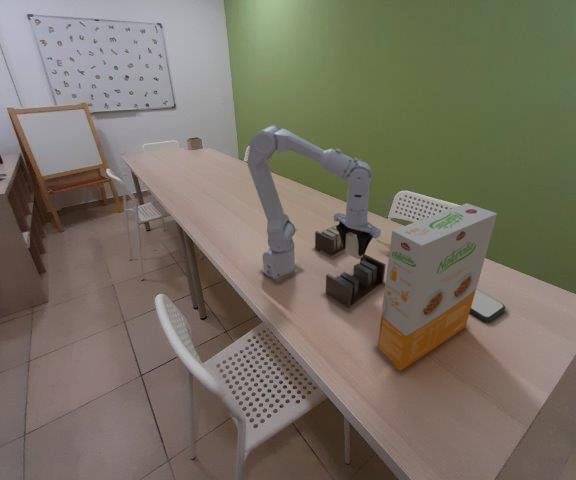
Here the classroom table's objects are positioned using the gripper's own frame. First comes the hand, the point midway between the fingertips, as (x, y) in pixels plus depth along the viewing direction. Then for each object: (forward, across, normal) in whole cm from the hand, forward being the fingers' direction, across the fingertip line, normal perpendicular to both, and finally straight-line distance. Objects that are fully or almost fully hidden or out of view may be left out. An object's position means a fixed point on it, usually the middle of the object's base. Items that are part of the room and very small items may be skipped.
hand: (354, 250), depth 86 cm
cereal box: (+10, -25, +5) cm, 27 cm away
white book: (+2, 0, 0) cm, 2 cm away
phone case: (+10, -26, -16) cm, 32 cm away
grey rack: (+10, -4, +3) cm, 11 cm away
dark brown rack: (+10, +15, -11) cm, 21 cm away
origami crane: (+10, -4, -21) cm, 23 cm away
